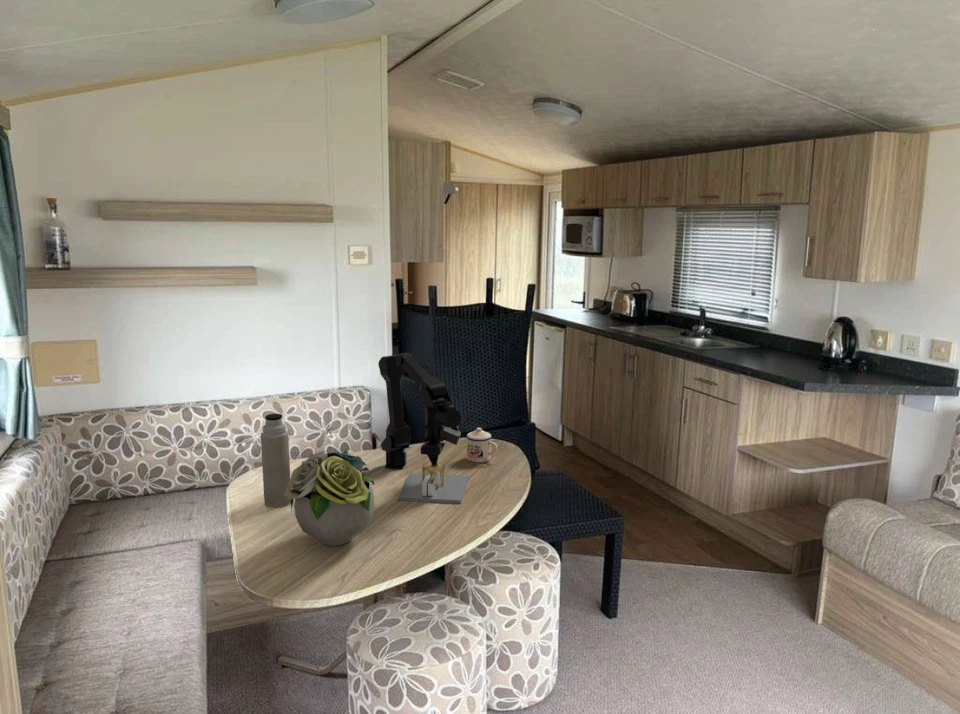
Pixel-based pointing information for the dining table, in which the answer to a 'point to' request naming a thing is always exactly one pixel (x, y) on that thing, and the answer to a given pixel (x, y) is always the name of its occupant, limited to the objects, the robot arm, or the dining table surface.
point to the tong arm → (433, 482)
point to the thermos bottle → (275, 461)
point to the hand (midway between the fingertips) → (434, 466)
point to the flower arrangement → (331, 496)
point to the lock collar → (433, 468)
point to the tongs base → (443, 493)
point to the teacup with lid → (479, 446)
